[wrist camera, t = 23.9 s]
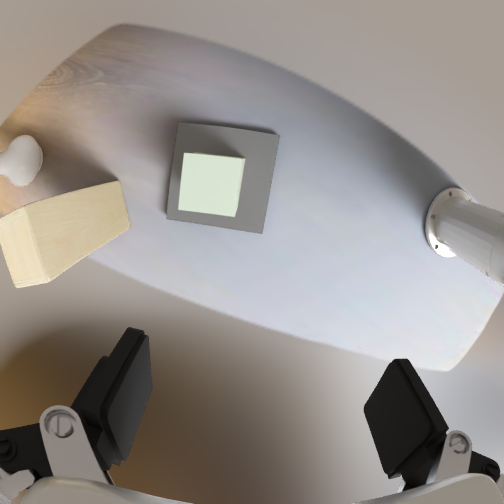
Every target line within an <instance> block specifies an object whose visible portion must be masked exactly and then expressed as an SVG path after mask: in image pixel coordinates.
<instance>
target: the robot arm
mask: <svg viewBox="0 0 504 504" xmlns="http://www.w3.org/2000/svg"><path fill="white" fill-rule="evenodd" d="M425 231H426V237H427V241H428V243H429V245H430V247H431V248H432V250H433V251H434V252H436V253H437V254H438V255H440V256H442V257H453V256H458V257H459V258H461V259H463V260H464V261H466V262H467V263H469V264H470V265H472V266H474V267H475V268H477V269H478V270H480V271H481V272H483V273H484V274H485V275H487V276H488V277H490V278H491V279H493V280H494V281H496V282H497V283H499V284H500V285H502V286H503V287H504V213H503V212H500V211H497V210H495V209H492V208H489V207H486V206H483V205H480V204H478V203H475V202H473V201H472V199H471V197H470V196H469V195H468V194H467V193H466V192H465V191H464V190H462V189H459V188H453V187H452V188H447V189H445V190H443V191H441V192H440V193H439V194H438V195H437V196H436V197H435V198H434V200H433V201H432V203H431V205H430V207H429V210H428V213H427V217H426V227H425ZM149 351H150V350H149V337H148V336H147V335H145V334H144V331H143V330H139V329H135V328H131V327H129V328H127V330H126V331H125V333H124V334H123V336H122V337H121V339H120V340H119V342H118V343H117V345H116V347H115V348H114V350H113V351H112V353H111V354H110V356H109V357H107V356H103V357H102V358H101V359H100V360H99V362H98V363H97V365H96V367H95V368H94V370H93V371H92V373H91V375H90V376H89V377H88V379H87V381H86V382H85V384H84V386H83V387H82V389H81V390H80V392H79V394H78V396H77V397H76V399H75V400H74V402H73V404H72V406H71V407H70V408H69V407H66V406H53V407H50V408H48V409H47V410H45V411H44V413H43V414H42V415H41V418H40V423H36V424H32V425H27V426H22V427H17V428H12V429H6V430H0V504H10V503H11V501H12V500H13V499H14V498H15V497H17V496H18V495H19V493H18V492H20V491H22V490H23V489H25V488H26V489H28V491H27V492H26V493H25V495H24V497H23V499H22V500H21V502H20V504H191V503H186V502H180V501H174V500H170V499H165V498H161V497H156V496H152V495H148V494H144V493H141V492H137V491H133V490H129V489H125V488H122V487H118V486H115V485H114V483H113V481H112V479H111V477H110V475H109V473H108V471H107V470H109V469H110V468H111V465H112V463H113V464H116V465H118V466H120V464H121V461H122V460H124V461H126V460H127V458H128V455H129V452H130V450H131V447H132V444H133V441H134V438H135V435H136V432H137V430H138V427H139V424H140V421H141V419H142V416H143V413H144V410H145V407H146V405H147V402H148V400H149V397H150V394H151V391H152V376H151V364H150V352H149ZM364 413H365V417H366V419H367V422H368V425H369V428H370V431H371V434H372V437H373V439H374V443H375V446H376V449H377V451H378V454H379V458H380V461H381V464H382V467H383V470H384V472H385V473H386V474H387V475H388V478H389V479H392V478H396V477H400V476H401V475H402V477H403V479H402V482H401V484H400V486H399V488H398V490H397V492H396V494H392V495H389V496H384V497H380V498H376V499H371V500H367V501H362V502H356V503H350V504H504V475H503V474H501V475H500V468H499V465H498V464H497V463H496V462H495V461H494V460H492V459H490V458H488V457H486V456H483V455H481V454H479V453H476V452H474V451H472V443H471V440H470V438H469V437H468V436H467V435H466V434H465V433H463V432H461V431H458V430H457V431H451V432H450V433H449V434H448V435H447V434H446V431H447V430H448V429H449V428H448V426H447V424H446V422H445V420H444V418H443V416H442V415H441V413H440V411H439V409H438V408H437V406H436V404H435V402H434V401H433V399H432V397H431V396H430V394H429V392H428V391H427V389H426V387H425V385H424V384H423V382H422V380H421V379H420V377H419V376H418V374H417V372H416V371H415V369H414V368H413V366H412V364H411V363H410V361H409V360H408V359H394V360H393V361H392V362H391V363H390V364H389V365H388V367H387V368H386V370H385V372H384V374H383V376H382V377H381V379H380V381H379V382H378V384H377V386H376V388H375V389H374V391H373V392H372V394H371V396H370V397H369V399H368V401H367V402H366V404H365V406H364Z"/></svg>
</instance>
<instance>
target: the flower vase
mask: <svg viewBox="0 0 504 504" xmlns="http://www.w3.org/2000/svg"><path fill="white" fill-rule="evenodd" d="M42 163H43V152H42V149H41V147H40V145H38V143H37V142H36V140H35V139H34V138H33V137H31V136H30V135H21V136H18V137H17V138H15V139H14V140H13V141H12V142H11V143H10V144H9V145H8V147H7V149H6V150H5V151H3V152H2V153H0V175H2V176H5V177H6V179H7V180H8V181H9V182H10V183H11V184H12V185H15V186H18V187H22V186H26V185H28V184H30V183H31V181H32V180H33V179H34V178H35V176H36V175H37V173H38V172H39V170H40V169H41V166H42Z"/></svg>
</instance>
